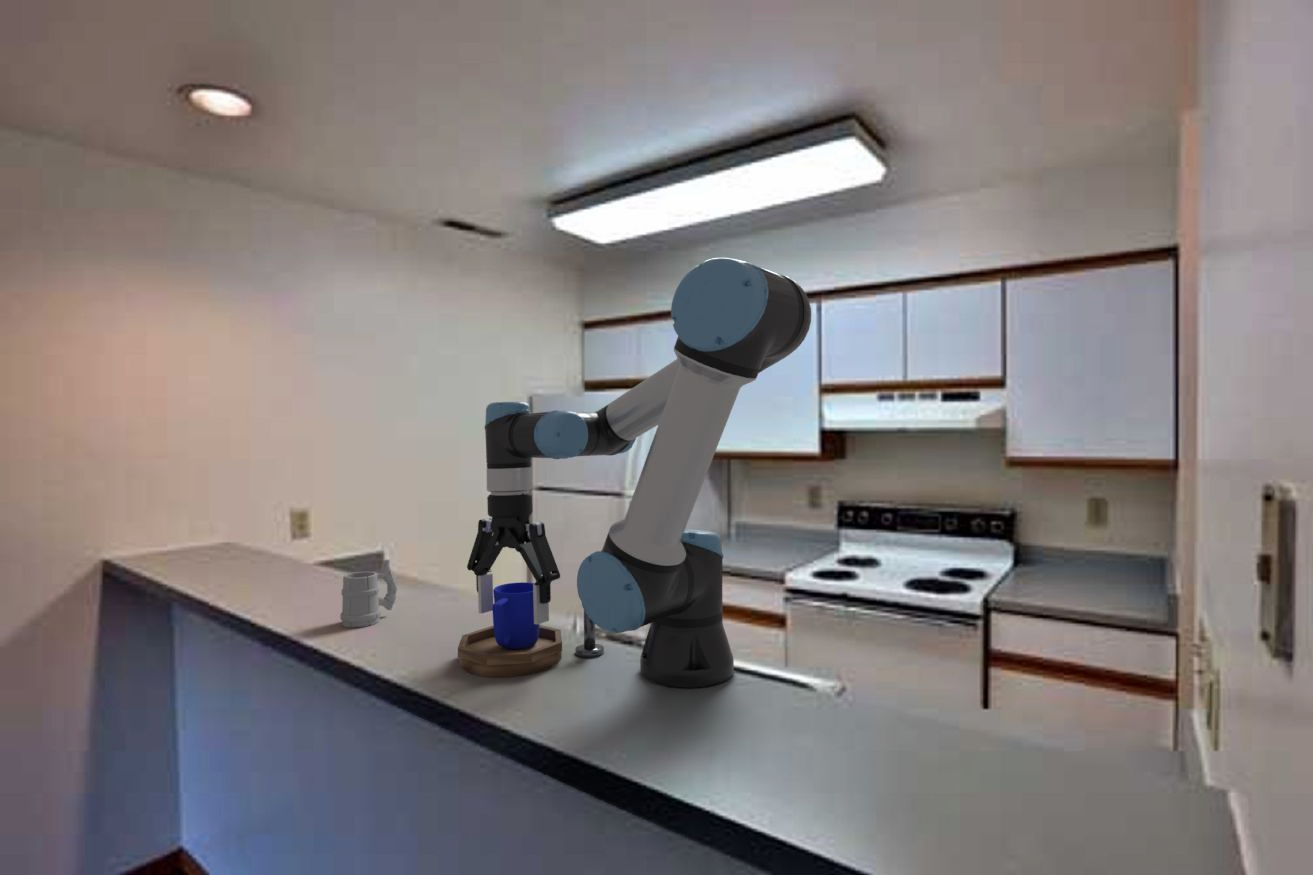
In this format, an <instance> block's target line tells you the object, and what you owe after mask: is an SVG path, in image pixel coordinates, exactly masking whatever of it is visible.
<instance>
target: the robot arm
mask: <svg viewBox="0 0 1313 875" xmlns="http://www.w3.org/2000/svg"><path fill="white" fill-rule="evenodd" d="M670 318H671V319H672V320H673V322H674V323H673V324H672V326H673V330H674V332H675V334H676V335H677V338H676V341H675V344H674V346H673V352H674V354H675V356H676V358H675V359H674V360H673V361H671V362H670V363H667V365H666V366H664V367H662V368H661V369H659V370H658V371H657V372H655V373H653V374H652V375H650V376H648V377H647V378H645V379H644V380H642V381H641V382H640V383H638V384H637V385H635V386H634V387H632V388H630V389H629V390H627V391H626V392H624V393H623V394H622V395H619V397H617V398H615V399H614V400H611V402H610V403H608V404H607V405H605V406H604V407H602V408H600V409H599V410H597V411H590V412H589V411H587V412H586V411H585V412H584V411H576V412H575V411H570V410H569V411H568V410H557V409H556V410H551V411H542V412H541V411H540V412H531V406H530V404H529V403H528V402H525V401H503V402H501V401H500V402H498V401H497V402H490V403H489V404H488V405H487V406H486V408H485V422H484V431H485V433H484V434H485V454H486V455H485V456H486V457H485V458H486V491H487V492H489V493H490V494H489V495H488V496H487V497H486V499H487V515H488V517H489V518H483V519H479V520H478V521H477V522H478V523H477V524H478V525H477V534H476V537H475V539H474V543H473V546H472V549H471V553H470V556H469V557H468V558H469V559H468V562H467V566H466V568H467V570H468V571H472V572H473V573H474V575H476V576H475V578H476V580H475V581H476V582H475V583H476V592H477V598H478V599H477V600H478V602H477V604H478V614H481V615H482V614H485V613H489V612H493V611H492V606H493V604H494V592H493V590H494V582H493V579H494V577H493V573H492V567H493V565H494V563H495V562H496V560H497V558H498V556H500V554H501V551H502V550H503V548H508V549H514V550H515V551H516V552H517V553H519V554H520V556H521V558H522V559H523V560H524V562H525V564H526V566H527V568H528V569H529V571H530V573H531V574H532V577H534V580H535V583H534V584H533V602H534V624H537V625H538V624H539V625H541V624H543V623H546V622H549V621H550V613H549V612H550V609H549V608H550V606H549V603H550V602H551V600H552V596H551V593H552V592H551V590H552V589H551V583H552V582H554V581H557V580H559V579H561V573H560V571H559V568H558V565H557V563H556V559H555V557H554V555H553V552H552V549H551V546H550V544H549V541H548V538H547V536H546V527H545V523H544V522H543V521H540V522H533V523H531V522H530V516H531V515H532V514H533V511H534V510H533V495H532V493H531V492H529V491H531V490H532V488H533V485H532V484H533V482H532V480H533V479H532V459H534V458H535V459H536V458H537V459H552V460H553V459H554V460H560V459H564V460H566V459H569V458H574V457H576V458H577V457H588V456H589V457H591V456H595V457H596V456H616V455H618V454H624V453H626V452H628V451H629V450H631V449H632V448H633V446H634V444H635V442H636V440H637V438H638V437H640V436H642V435H643V434H645V433H647V432H649V431H650V430H653V428H655V427H657V428H656V431H655V434H654V436H653V439H652V442H651V444H650V447H649V450H648V453H647V456H646V458H645V461H644V464H643V467H642V470H641V473H640V475H639V477H638V481H637V483H636V487H635V489H634V491H633V494H632V497H631V500H630V502H629V506H628V508H627V512H626V514H625V517H624V519H621V520H619V521H616V522H614V523H613V524H611V526H610V527H609V530H608V532H607V535H606V538H605V541H604V543H603V547H602V548H601V550H600V551H599V550H598V551H594V552H593V553H591V554H590V555H588V556H586V557H585V558H584V559H583V560H582V562H581V563H580V566H579V567H578V570H577V576H576V589H577V595H578V598H579V600H580V602H581V606H582V609H583V611H584V610H585V612H586V614H587V615H588V617H589V618H590V619H591V620H592V621H593V622H594V623H595V626H597V627H598V628H600V629H601V630H602V631H605V632H608V633H611V634H621V633H625V632H630V631H633V632H634V631H637V630H638V629H640V628H641V627H644V626H647V625H649V628H648V632H647V634H646V638H645V642H644V645H643V648H642V651H641V653H640V660H639V661H640V663H639V666H640V670H639V671H640V674H641V675H642V677H643V678H645V679H646V680H648V681H649V682H652V683H655V684H658V685H662V686H667V687H674V688H703V687H710V686H714V685H718V684H721V683H723V682H725V681H728V680H730V679H731V677H733V675H734V671H735V670H734V669H735V668H734V667H735V665H734V663H735V662H734V654H733V652H732V650H731V645H730V643H729V639H728V637H727V634H726V629H725V628H724V624H723V623H724V622H723V559H724V554H723V547H722V546H723V544H722V539H721V537H720V535H719V534H718V533H716V532H714V531H709V530H702V529H701V530H699V529H693V528H692V529H691V528H690V529H688V528H687V526H688V523H689V520H690V518H691V515H692V513H693V511H694V508H695V504H696V502H697V500H698V497H699V494H700V492H701V490H702V487H703V484H704V482H705V479H706V476H707V474H708V471H709V469H710V467H711V465H712V461H713V458H714V456H715V453H716V450H717V448H718V446H719V443H720V441H721V438H722V436H723V433H724V430H725V428H726V426H727V422H728V420H729V417H730V415H731V413H732V409H733V408H734V405H735V403H736V400H737V397H738V394H739V392H740V390H741V388H742V387H743V386H745V385H747V384H750V383H752V382H754V381H756V380H757V378H758V376H759V374H760V373H761V372H763V371H765V370H767V369H768V368H770V367H771V366H773V365H775V364H777V363H778V362H780V361H781V360H784V359H786V358H787V357H788V356H790V355H791V354H793V353H794V352H795V351H796V350H798V348H799V347H800V346H801V345H802V343H803V342H804V341H805V339H806V337H807V335H808V333H809V331H810V327H811V324H812V308H811V304H810V300H809V297H808V294H806V292H805V290H804V289H803V288H802V286H800V284H799V283H797V281H795V279H792V278H791V277H789V276H787V275H784V274H781V273H778V272H773V271H771V270H768V269H766V268H763V267H760V266H758V265H755V264H754V263H751V262H749V261H747V260H741V259H738V258H737V259H736V258H731V257H714V258H710V259H707V260H705V261H703V262H701V263H700V264H697V265H695V266H694V267H693V268H691V269H690V270H689V271H688V272H687V273H686V274H685V275H684V276H683V278H682V279H681V280H680V282H679V284H678V285H677V287H676V289H675V292H674V294H673V297H672V301H671V308H670Z"/></svg>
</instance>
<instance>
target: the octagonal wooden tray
mask: <svg viewBox="0 0 1313 875" xmlns="http://www.w3.org/2000/svg"><path fill="white" fill-rule="evenodd" d="M562 651H563V638H562V631H561V629H559V628H555V627H550V626H546V625H541V624H539V637H538V640H537V642H536V644H535V645H533V646H531V647H529V648H525V649H506V648H503V647H502V646H500V645H498V644H497V642H496V639H495V634H494V625H491V626H489V627H484V628H482V629H478V630H475V631H472V632H469V633H466V634H463V635H461V639H460V640H459V643H458V647H457V658H458V659H459V666H460V668H461V669H462V670H463V671H464V672H465V673H466V672H467V673H469V674H472V675H475V676H481V677H488V678H489V677H490V678H510V677H512V678H513V677H519V676H526V675H527V676H528V675H531V674H536V673H539V672H543V671H546V670H549V669H551V668H553V667H554V666H556V665H557V664H558V663H560V661H561V659H562V654H563V653H562Z"/></svg>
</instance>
